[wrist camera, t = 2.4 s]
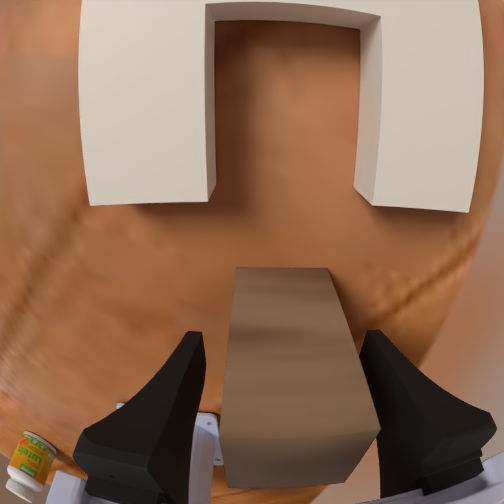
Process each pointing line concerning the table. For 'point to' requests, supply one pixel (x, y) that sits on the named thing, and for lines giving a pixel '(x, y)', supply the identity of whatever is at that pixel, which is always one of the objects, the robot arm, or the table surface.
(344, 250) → the table surface
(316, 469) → the peg
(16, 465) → the supplement bottle
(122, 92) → the socket block
